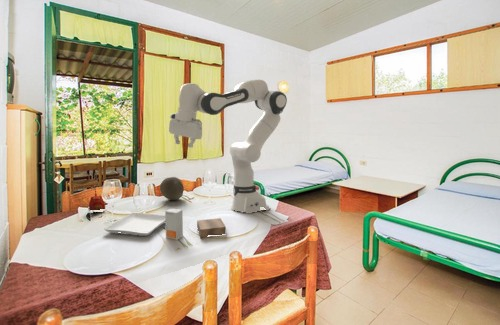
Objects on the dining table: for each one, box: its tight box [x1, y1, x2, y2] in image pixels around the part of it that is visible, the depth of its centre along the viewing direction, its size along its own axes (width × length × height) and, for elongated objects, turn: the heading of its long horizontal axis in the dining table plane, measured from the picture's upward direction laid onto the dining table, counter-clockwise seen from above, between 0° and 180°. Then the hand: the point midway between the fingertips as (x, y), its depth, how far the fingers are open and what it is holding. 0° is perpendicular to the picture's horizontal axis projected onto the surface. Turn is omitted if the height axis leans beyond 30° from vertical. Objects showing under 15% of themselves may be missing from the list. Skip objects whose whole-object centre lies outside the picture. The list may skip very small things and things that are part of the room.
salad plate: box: [103, 212, 166, 237], centre depth 120 cm, size 21×21×3 cm
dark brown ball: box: [159, 176, 185, 201], centre depth 164 cm, size 14×14×15 cm
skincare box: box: [164, 208, 184, 241], centre depth 110 cm, size 6×4×12 cm
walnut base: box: [196, 217, 227, 239], centre depth 117 cm, size 11×11×4 cm
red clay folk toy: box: [88, 184, 106, 211], centre depth 140 cm, size 8×7×15 cm
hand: (183, 145), depth 127 cm, fingers open, 8 cm apart
